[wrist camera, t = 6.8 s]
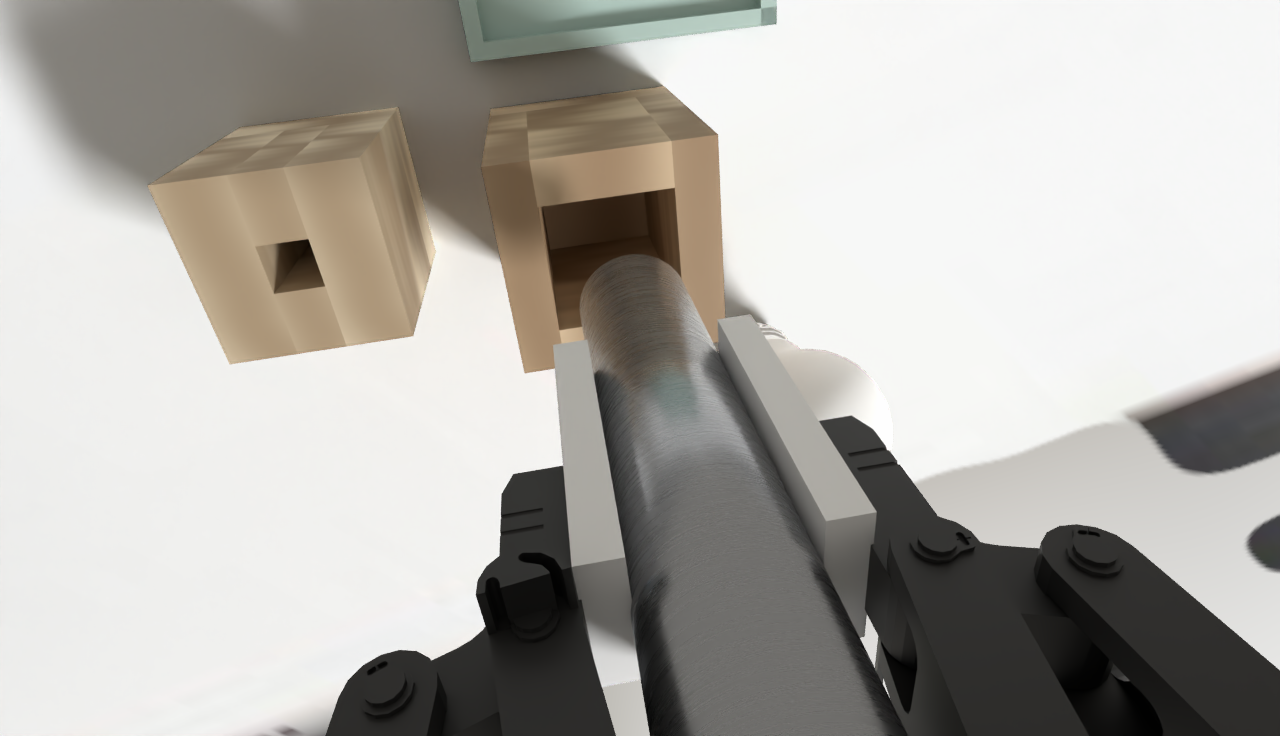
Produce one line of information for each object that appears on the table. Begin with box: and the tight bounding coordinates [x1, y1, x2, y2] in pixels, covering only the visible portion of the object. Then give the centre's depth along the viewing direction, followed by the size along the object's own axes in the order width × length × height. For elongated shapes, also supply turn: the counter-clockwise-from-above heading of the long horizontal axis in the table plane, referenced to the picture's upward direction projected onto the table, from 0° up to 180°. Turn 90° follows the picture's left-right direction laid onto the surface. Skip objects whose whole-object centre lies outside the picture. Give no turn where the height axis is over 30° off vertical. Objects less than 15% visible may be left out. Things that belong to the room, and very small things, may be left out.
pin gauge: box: [579, 254, 908, 736], centre depth 13 cm, size 3×3×15 cm
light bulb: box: [757, 323, 893, 452], centre depth 31 cm, size 7×7×11 cm
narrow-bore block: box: [148, 107, 436, 364], centre depth 26 cm, size 6×6×8 cm
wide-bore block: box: [481, 86, 725, 373], centre depth 26 cm, size 7×7×9 cm
